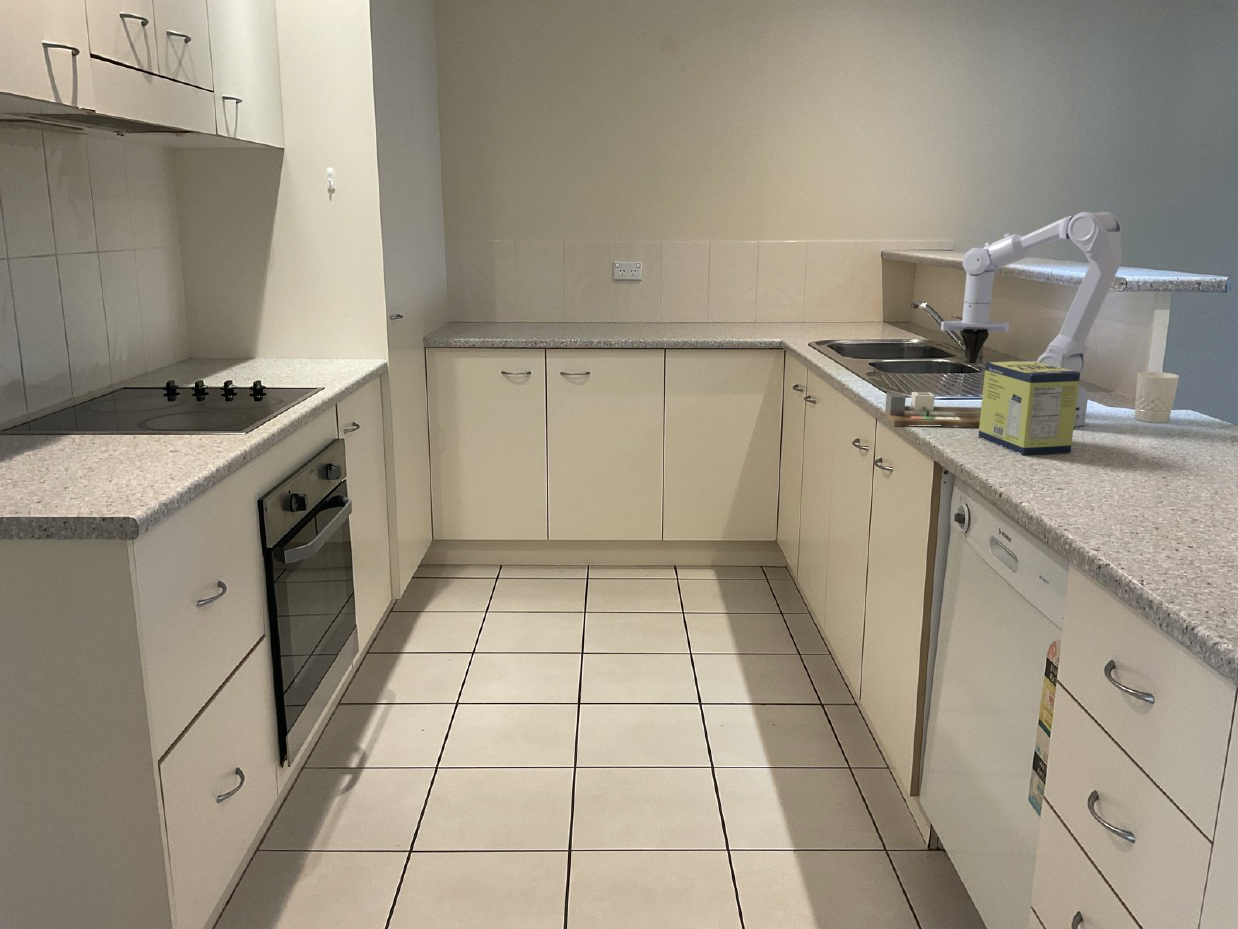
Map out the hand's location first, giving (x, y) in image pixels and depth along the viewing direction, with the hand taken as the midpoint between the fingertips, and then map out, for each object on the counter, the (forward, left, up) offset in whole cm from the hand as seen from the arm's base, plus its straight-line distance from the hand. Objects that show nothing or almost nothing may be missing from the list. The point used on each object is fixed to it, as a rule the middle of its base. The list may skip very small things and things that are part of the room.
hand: (971, 362), depth 222 cm
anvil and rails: (-7, +16, -9) cm, 19 cm away
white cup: (-27, -27, -11) cm, 40 cm away
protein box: (-32, +17, -11) cm, 38 cm away
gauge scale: (-11, +20, -9) cm, 24 cm away
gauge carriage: (-7, +19, -9) cm, 22 cm away
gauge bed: (-9, +17, -10) cm, 22 cm away
